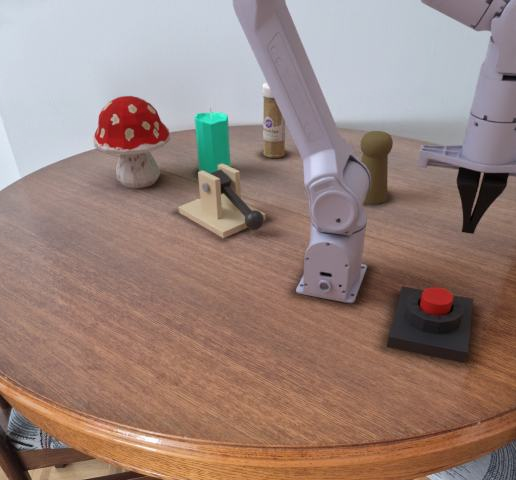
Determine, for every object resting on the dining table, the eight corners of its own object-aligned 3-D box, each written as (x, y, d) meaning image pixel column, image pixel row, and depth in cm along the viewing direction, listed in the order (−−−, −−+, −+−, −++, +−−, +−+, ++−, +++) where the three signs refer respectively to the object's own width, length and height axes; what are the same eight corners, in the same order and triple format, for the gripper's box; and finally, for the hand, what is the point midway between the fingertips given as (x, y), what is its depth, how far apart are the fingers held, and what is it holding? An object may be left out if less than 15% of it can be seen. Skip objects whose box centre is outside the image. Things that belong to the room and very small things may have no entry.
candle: (193, 176, 103) (187, 110, 95) (210, 164, 107) (205, 100, 99) (220, 181, 101) (216, 115, 93) (236, 169, 105) (233, 105, 97)
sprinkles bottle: (260, 157, 110) (259, 86, 101) (267, 149, 113) (267, 79, 104) (281, 160, 108) (282, 88, 100) (288, 151, 112) (289, 81, 103)
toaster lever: (265, 230, 86) (270, 216, 83) (250, 236, 84) (255, 223, 82) (219, 181, 89) (223, 166, 87) (205, 186, 88) (208, 172, 85)
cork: (386, 205, 93) (396, 141, 86) (351, 202, 94) (357, 138, 87) (387, 190, 97) (397, 127, 90) (353, 187, 98) (360, 125, 91)
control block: (464, 363, 63) (472, 340, 60) (386, 347, 65) (390, 324, 63) (470, 309, 70) (476, 286, 68) (400, 296, 73) (404, 274, 70)
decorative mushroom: (191, 175, 103) (183, 92, 94) (144, 204, 94) (130, 115, 85) (134, 161, 109) (121, 81, 99) (85, 188, 100) (65, 102, 90)
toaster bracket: (265, 220, 89) (265, 174, 84) (223, 239, 85) (220, 192, 80) (220, 196, 96) (217, 153, 91) (178, 213, 92) (173, 168, 87)
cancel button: (449, 318, 64) (452, 307, 63) (417, 313, 65) (420, 301, 64) (451, 301, 66) (454, 290, 65) (421, 296, 67) (424, 284, 66)
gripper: (571, 109, 58) (531, 223, 67) (432, 96, 62) (412, 206, 71) (575, 131, 53) (532, 251, 62) (424, 116, 57) (404, 231, 66)
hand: (468, 229), depth 66 cm, fingers closed
